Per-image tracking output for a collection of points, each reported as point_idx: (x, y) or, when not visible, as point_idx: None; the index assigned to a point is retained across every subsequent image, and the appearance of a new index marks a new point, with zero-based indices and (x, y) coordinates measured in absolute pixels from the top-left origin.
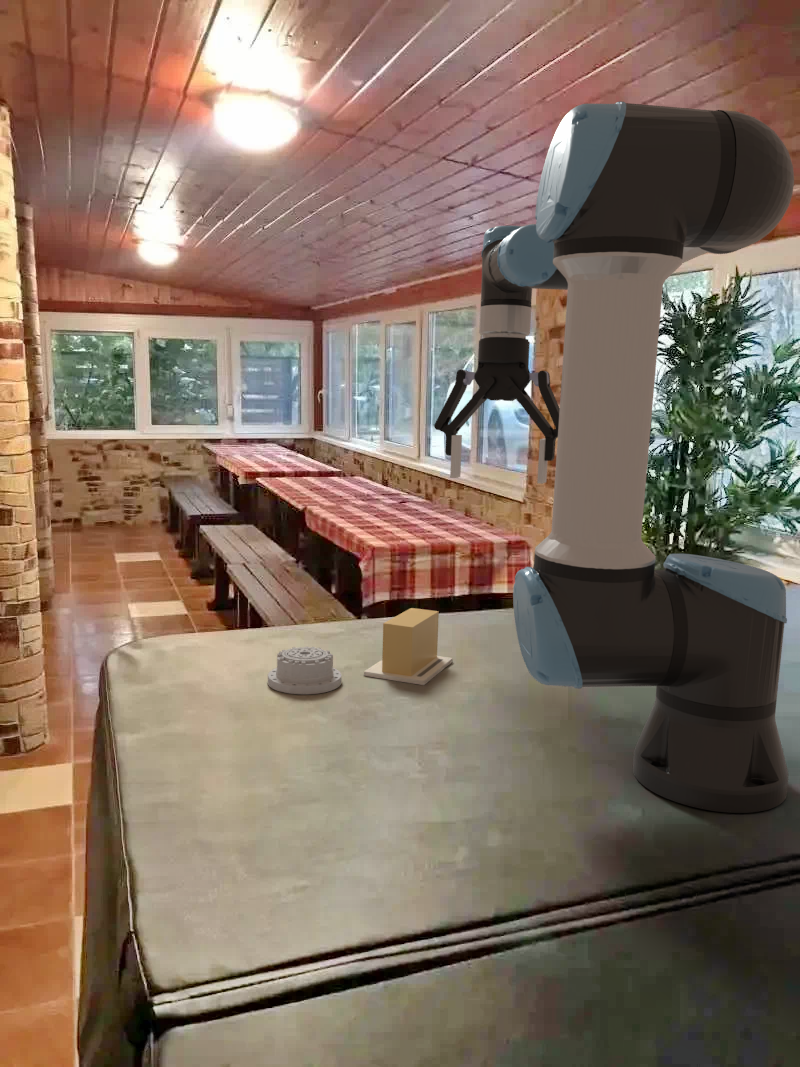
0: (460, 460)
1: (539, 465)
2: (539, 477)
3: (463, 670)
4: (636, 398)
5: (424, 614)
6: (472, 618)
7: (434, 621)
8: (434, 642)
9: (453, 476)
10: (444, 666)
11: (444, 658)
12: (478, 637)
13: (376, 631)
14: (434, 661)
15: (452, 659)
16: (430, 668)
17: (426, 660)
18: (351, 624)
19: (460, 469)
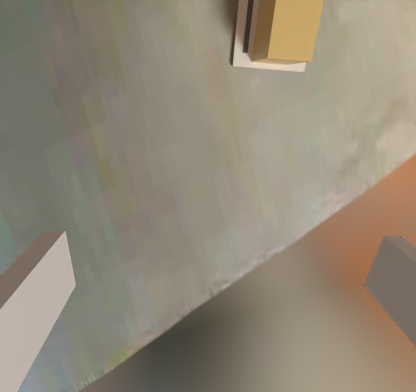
0: (408, 330)
1: (16, 278)
2: (45, 244)
3: (212, 35)
4: None
5: (284, 24)
6: (247, 247)
7: (267, 39)
8: (258, 47)
9: (392, 239)
10: (235, 32)
11: (241, 59)
12: (225, 180)
13: (339, 155)
14: (250, 39)
15: (232, 65)
16: (249, 2)
17: (258, 16)
18: (371, 171)
19: (381, 304)
